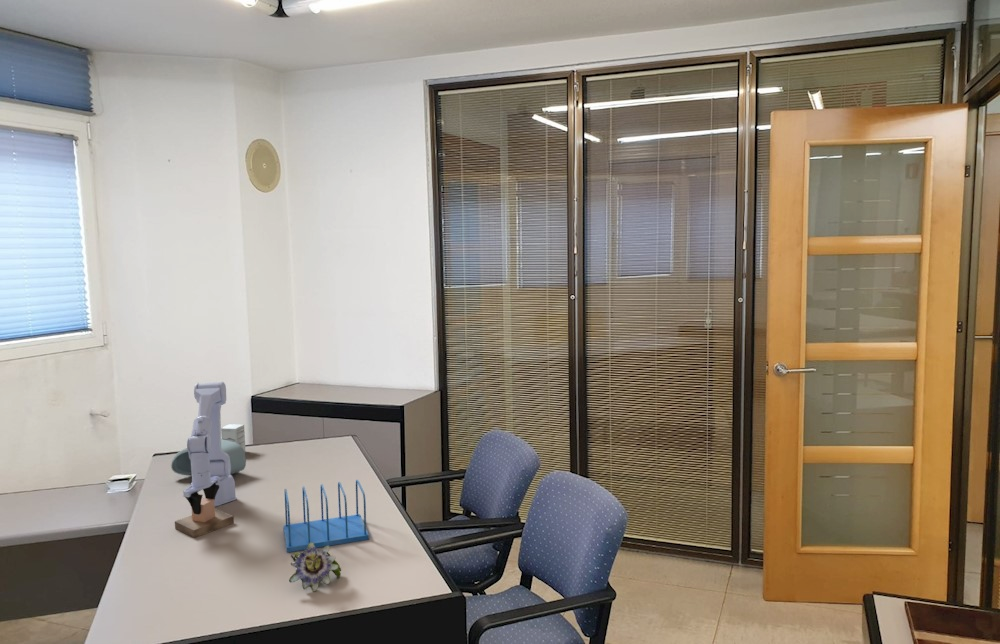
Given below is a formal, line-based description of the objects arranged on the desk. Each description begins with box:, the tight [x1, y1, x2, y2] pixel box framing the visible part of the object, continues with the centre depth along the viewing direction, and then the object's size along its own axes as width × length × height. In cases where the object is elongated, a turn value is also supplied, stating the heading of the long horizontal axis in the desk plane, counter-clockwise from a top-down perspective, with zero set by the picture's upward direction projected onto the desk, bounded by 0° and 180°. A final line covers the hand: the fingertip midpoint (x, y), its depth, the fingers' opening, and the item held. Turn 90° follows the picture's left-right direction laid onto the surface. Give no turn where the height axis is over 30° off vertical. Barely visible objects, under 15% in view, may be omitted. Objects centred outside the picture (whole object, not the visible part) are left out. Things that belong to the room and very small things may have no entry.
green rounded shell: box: [170, 438, 247, 477], centre depth 278 cm, size 22×19×13 cm
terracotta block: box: [190, 497, 216, 522], centre depth 231 cm, size 5×5×6 cm
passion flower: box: [288, 542, 342, 593], centre depth 193 cm, size 13×12×14 cm
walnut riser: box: [174, 507, 235, 539], centre depth 232 cm, size 14×12×2 cm
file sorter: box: [282, 479, 370, 553], centre depth 223 cm, size 25×17×15 cm
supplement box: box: [221, 423, 246, 453], centre depth 307 cm, size 7×7×13 cm
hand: (203, 510), depth 231 cm, fingers open, 5 cm apart
